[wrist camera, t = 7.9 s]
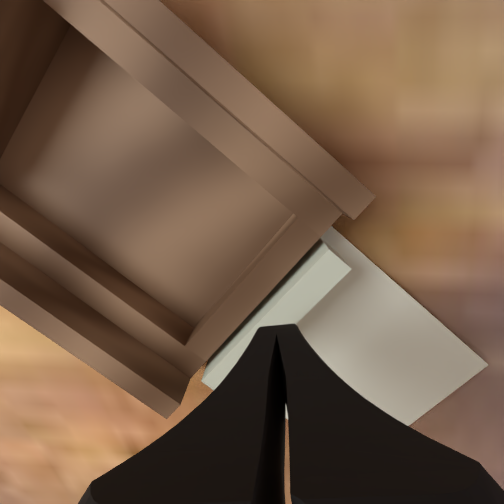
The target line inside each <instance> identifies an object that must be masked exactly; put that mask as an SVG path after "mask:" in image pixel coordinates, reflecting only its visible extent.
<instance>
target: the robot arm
mask: <svg viewBox="0 0 504 504" xmlns="http://www.w3.org/2000/svg"><path fill="white" fill-rule="evenodd" d="M286 407H287V413H288V425H289V452H290V494H291V501H292V504H504V490H503V489H502V488H501V487H500V486H499V485H498V484H497V483H496V481H495V480H494V479H493V478H492V477H491V476H490V475H489V474H488V472H487V471H486V470H485V469H484V468H483V467H482V465H481V464H480V463H479V462H477V461H475V460H473V459H471V458H469V457H467V456H465V455H463V454H461V453H459V452H457V451H455V450H453V449H451V448H449V447H447V446H445V445H443V444H441V443H439V442H437V441H435V440H433V439H430V438H428V437H427V436H425V435H423V434H421V433H419V432H418V431H416V430H414V429H412V428H411V427H409V426H407V425H405V424H404V423H402V422H400V421H398V420H397V419H395V418H394V417H392V416H390V415H389V414H387V413H386V412H384V411H383V410H381V409H380V408H378V407H377V406H376V405H374V404H373V403H371V402H370V401H368V400H367V399H365V398H364V397H363V396H361V395H360V394H359V393H358V392H356V391H355V390H354V389H353V388H351V387H350V386H349V385H348V384H347V383H346V382H344V381H343V380H342V379H341V378H340V377H339V376H338V375H337V374H336V373H335V372H334V371H333V370H332V369H331V368H330V367H329V366H328V365H327V364H326V363H325V362H324V361H323V360H322V359H321V358H320V357H319V355H318V354H317V353H316V352H315V351H314V349H313V348H312V347H311V346H310V344H309V343H308V342H307V340H306V339H305V338H304V336H303V335H302V333H301V332H300V330H299V328H298V326H297V325H296V324H283V325H273V326H263V327H259V328H258V329H257V331H256V333H255V334H254V336H253V338H252V340H251V341H250V343H249V345H248V346H247V348H246V349H245V351H244V352H243V354H242V355H241V357H240V358H239V360H238V361H237V363H236V364H235V365H234V367H233V368H232V369H231V371H230V372H229V373H228V374H227V376H226V377H225V378H224V380H223V381H222V382H221V383H220V384H219V385H218V387H217V388H216V389H215V390H214V391H213V392H212V393H211V394H210V395H209V396H208V397H207V398H206V399H205V400H204V401H203V402H202V403H201V404H200V405H199V406H198V407H196V408H195V409H194V410H193V411H192V412H191V413H190V414H189V415H187V416H186V417H185V418H184V419H183V420H182V421H181V422H179V423H178V424H177V425H176V426H174V427H173V428H172V429H170V430H169V431H168V432H167V433H165V434H164V435H163V436H161V437H160V438H159V439H157V440H156V441H154V442H153V443H152V444H150V445H149V446H147V447H146V448H144V449H143V450H142V451H140V452H139V453H137V454H136V455H134V456H132V457H131V458H129V459H128V460H126V461H124V462H123V463H121V464H120V465H118V466H116V467H115V468H113V469H112V470H110V471H108V472H107V473H105V474H104V475H102V476H100V477H99V478H97V479H95V480H93V481H92V482H91V484H90V485H89V487H88V488H87V490H86V492H85V493H84V495H83V496H82V498H81V499H80V501H79V503H78V504H285V491H284V461H285V417H286Z"/></svg>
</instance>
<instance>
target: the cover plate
mask: <svg viewBox="0 0 504 504" xmlns="http://www.w3.org/2000/svg"><path fill="white" fill-rule="evenodd" d="M283 324H296V325H297V326H298V328H299V330H300V332H301V333H302V335H303V336H304V338H305V339H306V340H307V342H308V343H309V344H310V346H311V347H312V348H313V349H314V351H315V352H316V353H317V354H318V355H319V357H320V358H321V359H322V360H323V361H324V362H325V363H326V364H327V365H328V366H329V367H330V368H331V369H332V370H333V371H334V372H335V373H336V374H337V375H338V376H339V377H340V378H341V379H342V380H343V381H344V382H346V383H347V384H348V385H349V386H350V387H351V388H353V389H354V390H355V391H356V392H358V393H359V394H360V395H361V396H363V397H364V398H365V399H367V400H368V401H370V402H371V403H373V404H374V405H376V406H377V407H378V408H380V409H381V410H383V411H384V412H386V413H387V414H389V415H390V416H392V417H394V418H395V419H397V420H398V421H400V422H402V423H404V424H405V425H407V426H409V425H410V424H412V423H413V422H414V421H416V420H417V419H418V418H420V417H421V416H422V415H423V414H425V413H426V412H427V411H429V410H430V409H431V408H433V407H434V406H435V405H437V404H438V403H439V402H441V401H442V400H443V399H445V398H446V397H447V396H448V395H450V394H451V393H452V392H454V391H455V390H456V389H458V388H459V387H460V386H462V385H463V384H464V383H466V382H467V381H468V380H470V379H471V378H472V377H473V376H475V375H476V374H477V373H479V372H480V371H481V370H483V369H484V368H485V367H487V366H488V364H487V363H486V362H485V361H484V360H483V359H482V358H480V357H479V356H478V355H477V354H476V353H475V352H474V351H472V350H471V349H470V348H469V347H468V346H467V345H466V344H464V343H463V342H462V341H461V340H460V339H459V338H458V337H457V336H455V335H454V334H453V333H452V332H451V331H450V330H449V329H447V328H446V327H445V326H444V325H443V324H442V323H441V322H440V321H438V320H437V319H436V318H435V317H434V316H433V315H432V314H430V313H429V312H428V311H427V310H426V309H425V308H424V307H423V306H421V305H420V304H419V303H418V302H417V301H416V300H415V299H413V298H412V297H411V296H410V295H409V294H408V293H407V292H406V291H404V290H403V289H402V288H401V287H400V286H399V285H398V284H396V283H395V282H394V281H393V280H392V279H391V278H390V277H389V276H387V275H386V274H385V273H384V272H383V271H382V270H381V269H379V268H378V267H377V266H376V265H375V264H374V263H373V262H372V261H370V260H369V259H368V258H367V257H366V256H365V255H364V254H362V253H361V252H360V251H359V250H358V249H357V248H356V247H355V246H353V245H352V244H351V243H350V242H349V241H348V240H347V239H345V238H344V237H343V236H342V235H341V234H340V233H339V232H338V231H336V230H335V229H334V228H333V227H332V226H331V227H330V228H329V229H328V230H327V231H326V232H325V233H324V234H323V235H322V236H321V237H320V238H319V240H318V241H317V242H316V243H315V244H314V245H313V246H312V247H311V248H310V249H309V250H308V251H307V253H306V254H305V255H304V256H303V257H302V258H301V259H300V260H299V261H298V262H297V263H296V264H295V266H294V267H293V268H292V269H291V270H290V271H289V272H288V273H287V274H286V275H285V276H284V278H283V279H282V280H281V281H280V282H279V283H278V284H277V285H276V286H275V287H274V288H273V289H272V291H271V292H270V293H269V294H268V295H267V296H266V297H265V298H264V299H263V300H262V301H261V302H260V304H259V305H258V306H257V307H256V308H255V309H254V310H253V311H252V312H251V313H250V314H249V315H248V317H247V318H246V319H245V320H244V321H243V322H242V323H241V324H240V325H239V326H238V327H237V328H236V330H235V331H234V332H233V333H232V334H231V335H230V336H229V337H228V338H227V339H226V340H225V341H224V343H223V344H222V345H221V346H220V347H219V348H218V349H217V350H216V351H215V352H214V353H213V354H212V356H211V357H210V358H209V359H208V363H207V366H206V369H205V372H204V375H203V378H202V382H203V383H204V384H206V385H207V386H209V387H210V388H211V389H213V390H215V389H216V388H217V387H218V385H219V384H220V383H221V382H222V381H223V380H224V378H225V377H226V376H227V374H228V373H229V372H230V371H231V369H232V368H233V367H234V365H235V364H236V363H237V361H238V360H239V358H240V357H241V355H242V354H243V352H244V351H245V349H246V348H247V346H248V345H249V343H250V341H251V340H252V338H253V336H254V334H255V333H256V331H257V329H258V328H259V327H263V326H273V325H283ZM285 418H287V419H288V413H287V407H286V417H285Z"/></svg>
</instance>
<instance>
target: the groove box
mask: <svg viewBox="0 0 504 504" xmlns="http://www.w3.org/2000/svg"><path fill="white" fill-rule="evenodd" d="M375 197H376V196H375V195H374V194H373V193H372V192H371V191H370V190H369V189H368V188H366V187H365V186H364V185H363V184H362V183H361V182H360V181H359V180H358V179H357V178H355V177H354V176H353V175H352V174H351V173H350V172H349V171H348V170H347V169H345V168H344V167H343V166H342V165H341V164H340V163H339V162H338V161H337V160H335V159H334V158H333V157H332V156H331V155H330V154H329V153H328V152H327V151H325V150H324V149H323V148H322V147H321V146H320V145H319V144H318V143H317V142H316V141H314V140H313V139H312V138H311V137H310V136H309V135H308V134H307V133H306V132H304V131H303V130H302V129H301V128H300V127H299V126H298V125H297V124H296V123H294V122H293V121H292V120H291V119H290V118H289V117H288V116H287V115H286V114H284V113H283V112H282V111H281V110H280V109H279V108H278V107H277V106H276V105H275V104H273V103H272V102H271V101H270V100H269V99H268V98H267V97H266V96H265V95H263V94H262V93H261V92H260V91H259V90H258V89H257V88H256V87H255V86H253V85H252V84H251V83H250V82H249V81H248V80H247V79H246V78H245V77H244V76H242V75H241V74H240V73H239V72H238V71H237V70H236V69H235V68H234V67H232V66H231V65H230V64H229V63H228V62H227V61H226V60H225V59H224V58H222V57H221V56H220V55H219V54H218V53H217V52H216V51H215V50H214V49H212V48H211V47H210V46H209V45H208V44H207V43H206V42H205V41H204V40H203V39H201V38H200V37H199V36H198V35H197V34H196V33H195V32H194V31H193V30H191V29H190V28H189V27H188V26H187V25H186V24H185V23H184V22H183V21H181V20H180V19H179V18H178V17H177V16H176V15H175V14H174V13H173V12H172V11H170V10H169V9H168V8H167V7H166V6H165V5H164V4H163V3H162V2H160V1H159V0H0V305H1V306H2V307H4V308H5V309H7V310H8V311H10V312H11V313H13V314H14V315H15V316H17V317H18V318H20V319H21V320H23V321H24V322H26V323H27V324H29V325H30V326H32V327H33V328H34V329H36V330H37V331H39V332H40V333H42V334H43V335H45V336H46V337H48V338H49V339H51V340H52V341H53V342H55V343H56V344H58V345H59V346H61V347H62V348H64V349H65V350H67V351H68V352H69V353H71V354H72V355H74V356H75V357H77V358H78V359H80V360H81V361H83V362H84V363H86V364H87V365H88V366H90V367H91V368H93V369H94V370H96V371H97V372H99V373H100V374H102V375H103V376H105V377H106V378H107V379H109V380H110V381H112V382H113V383H115V384H116V385H118V386H119V387H121V388H122V389H124V390H125V391H126V392H128V393H129V394H131V395H132V396H134V397H135V398H137V399H138V400H140V401H141V402H142V403H144V404H145V405H147V406H148V407H150V408H151V409H153V410H154V411H156V412H157V413H159V414H160V415H161V416H163V417H164V418H166V419H167V418H168V417H169V416H170V415H171V414H172V413H173V412H174V411H175V410H176V409H177V408H178V407H179V406H180V404H181V402H182V399H183V397H184V394H185V391H186V389H187V386H188V384H189V381H190V378H191V377H192V376H193V375H194V374H195V373H196V372H197V371H198V370H199V369H200V367H201V366H202V365H203V364H204V363H205V362H206V361H207V360H208V359H209V358H210V357H211V356H212V354H213V353H214V352H215V351H216V350H217V349H218V348H219V347H220V346H221V345H222V344H223V343H224V341H225V340H226V339H227V338H228V337H229V336H230V335H231V334H232V333H233V332H234V331H235V330H236V328H237V327H238V326H239V325H240V324H241V323H242V322H243V321H244V320H245V319H246V318H247V317H248V315H249V314H250V313H251V312H252V311H253V310H254V309H255V308H256V307H257V306H258V305H259V304H260V302H261V301H262V300H263V299H264V298H265V297H266V296H267V295H268V294H269V293H270V292H271V291H272V289H273V288H274V287H275V286H276V285H277V284H278V283H279V282H280V281H281V280H282V279H283V278H284V276H285V275H286V274H287V273H288V272H289V271H290V270H291V269H292V268H293V267H294V266H295V264H296V263H297V262H298V261H299V260H300V259H301V258H302V257H303V256H304V255H305V254H306V253H307V251H308V250H309V249H310V248H311V247H312V246H313V245H314V244H315V243H316V242H317V241H318V240H319V238H320V237H321V236H322V235H323V234H324V233H325V232H326V231H327V230H328V229H329V228H330V227H331V225H332V224H333V223H334V222H335V221H336V220H337V219H338V218H339V217H340V216H341V215H342V214H344V215H346V216H348V217H350V218H351V219H353V220H355V219H356V218H357V217H358V216H359V214H360V213H361V212H362V211H363V210H364V209H365V208H366V207H367V206H368V205H369V204H370V203H371V202H372V201H373V200H374V199H375Z"/></svg>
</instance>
